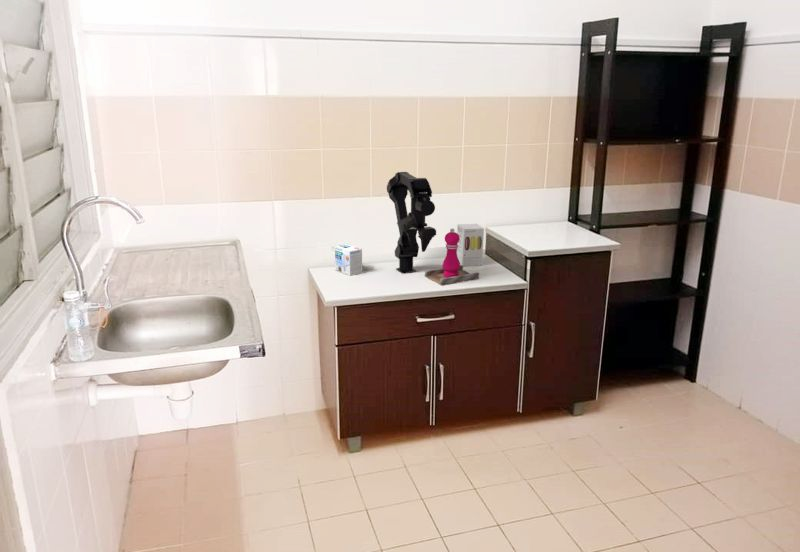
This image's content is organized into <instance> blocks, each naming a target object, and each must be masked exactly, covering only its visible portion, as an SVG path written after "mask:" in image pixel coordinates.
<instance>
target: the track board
mask: <svg viewBox="0 0 800 552" xmlns="http://www.w3.org/2000/svg"><path fill="white" fill-rule="evenodd" d="M444 271H445V270H444V269H443V267H440V268H436V269H430V270H429V269H428V270H425V271H424V277H425V278H427V279H428V280H430V281H432V282H434V283H436V284H437V285H440V286H446V284H447V285H452V284H451V283H453V284H457V282H458V283H463V281H464V282H469V280H470V281H475V280H479V279H480V277H479V276H480V272H472V273H470V272H469V271H466V270H464V266H462V265H460V269H459V270H458V272H459V276H454V277H448V278H446V277H444Z"/></svg>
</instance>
